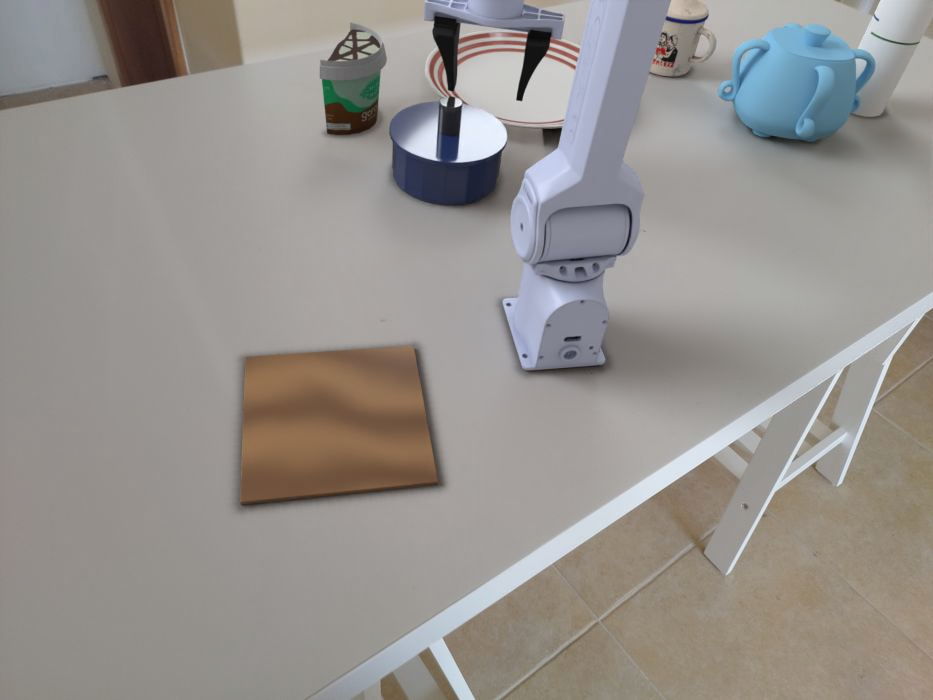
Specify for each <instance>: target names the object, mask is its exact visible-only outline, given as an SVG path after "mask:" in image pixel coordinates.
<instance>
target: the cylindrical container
mask: <svg viewBox="0 0 933 700" xmlns="http://www.w3.org/2000/svg"><path fill="white" fill-rule="evenodd" d="M932 20H933V0H880V1H879V2H878V4H877V7H876V9H875V11H874V14H873V15H872V17H871V19H870V22H869V24H868V25H867V28H866V30H865V32H864V34H863V36H862V38H861V41H860V43H859V45H858V46H857V49H862V50H865V51H867V52H869V53H870V54H871V55H872V56H873V58H874V60H875V64H876V66H875V71H874V73H873V75H872V76H871V78H870V79H869V81H868V82H867V83H866V84H865V85H864V86H863V87H862V88H861V90H860V91H859V92H858V93H857V95H859V96H860V98H861V104H860V107H859V108H858V109H857V110H856V111H855V112H852V113H851V114H852V115H856V116H860V117H864V118H865V117H867V118H875V117H879V116H881V115H882V114H883V112H884V110H885V109H886V107H887V105H888V103H889V101H890V99H891V98H892V95H893V93H894V91H895V90H896V88H897V86H898V84H899V82H900V81H901V79H902V76H903V74H904V73H905V71H906V69H907V67H908V65H909V64H910V61H911V59H912V58H913V56H914V54H915V53H916V50H917V48H918V46H919V44H920V43H921V41H922V38H923V37H924V35H925V33H926V31H927V29H928V28H929V25H930V23H931V22H932ZM855 60H856V79H857V78H858V77H859V76H860V75H861V73H862V72H863V70H864V69H865V67H866V64H867V62H866V61H865V60H863V59H855ZM853 102H854V101H853Z"/></svg>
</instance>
